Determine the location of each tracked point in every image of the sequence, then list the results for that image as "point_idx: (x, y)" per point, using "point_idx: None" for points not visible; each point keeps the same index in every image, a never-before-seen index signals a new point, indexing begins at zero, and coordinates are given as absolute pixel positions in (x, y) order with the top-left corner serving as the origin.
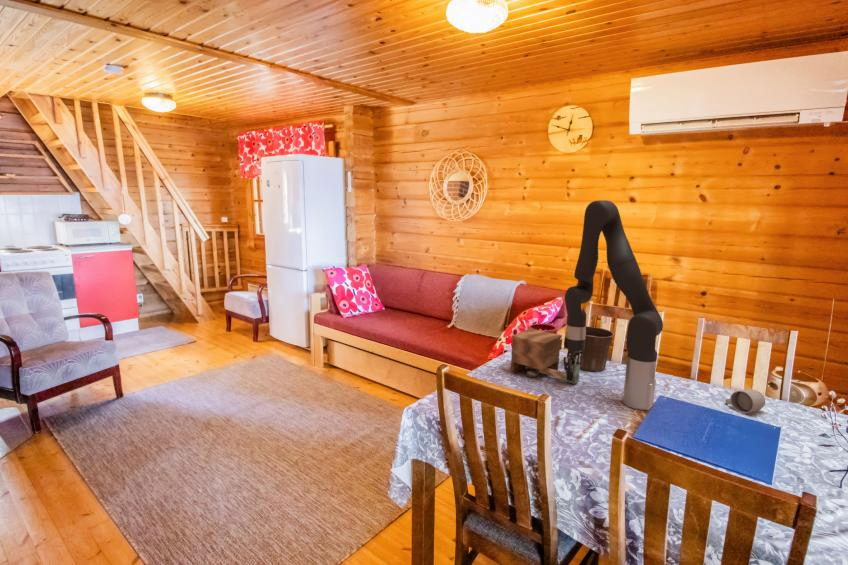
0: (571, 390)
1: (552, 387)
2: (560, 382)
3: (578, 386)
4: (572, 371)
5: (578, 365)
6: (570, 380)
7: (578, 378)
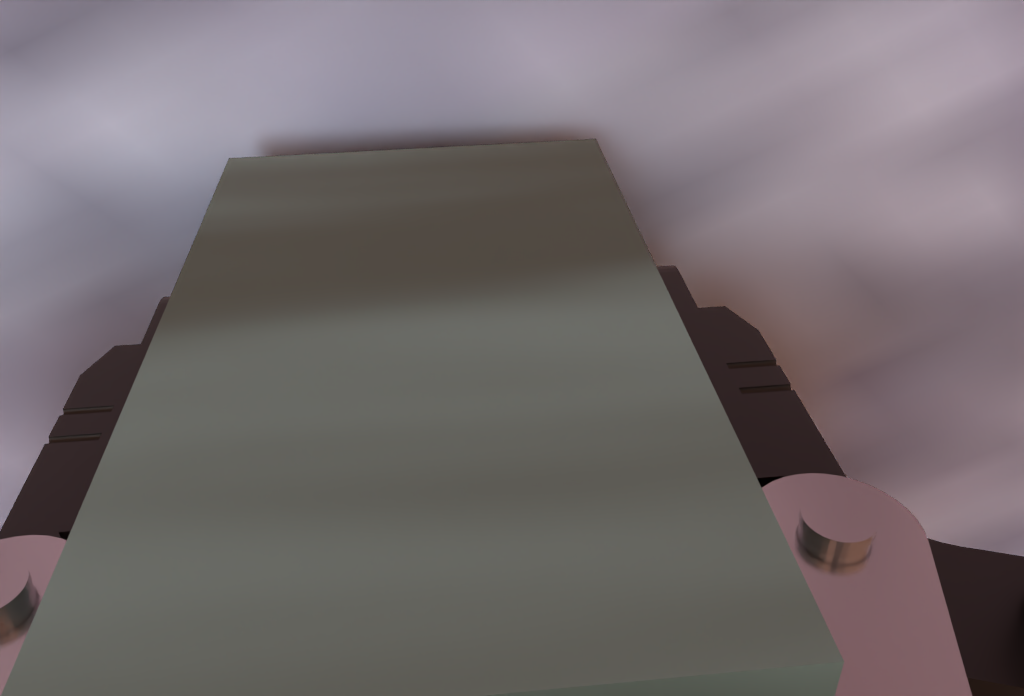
0: (980, 19)
1: (1018, 437)
2: None
3: (506, 3)
4: (858, 499)
5: (325, 675)
6: None
7: (261, 199)
